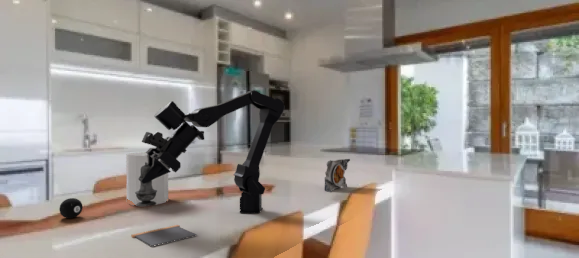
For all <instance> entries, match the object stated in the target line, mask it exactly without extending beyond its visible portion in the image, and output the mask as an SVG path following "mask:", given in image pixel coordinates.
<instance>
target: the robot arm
mask: <svg viewBox="0 0 579 258" xmlns="http://www.w3.org/2000/svg"><path fill="white" fill-rule="evenodd" d="M249 105H252V106H253V107H254V108H256V109H258V110H259V123H258V126H257V129H256V132H255V134H254V137H253V140H252V143H251V146H250V148H249V151H248V153H247V156H246V159H245V161H244V162H243V163H242V164H241V163H238V164H237V166H236V170H235V172H234V173H233V176H234V177H233V181H234V184H235V186H237V187H238V189H239V192H241V193H240V197H239V213H240V214H241V213H242V214H260V212H262V211H263V210H264V207H262V203H263V202H262V201H263V200H262V198H263V197H262V196H263V195H264V193H265V190H266V187H265V186H264V185H263V184H262V183H261V182H260V181H259V180H260V175H261V173H260V171H261V169H260V164H261V161H262V158H263V155H264V153H265V150H266V146H267V144H268V141H269V138H270V136H271V133H272V130H273V127H274V125H275V124H277V122H278V121H279V120H280V118H281V116H282V115H283V114H284V111H285V105H284V102H283V100H281V99H280V98H275V97H271V96H268V95H266V94H264V93H261V92H259V91H257V90H250V91H249V90H248V91H246V92H245V93H242V94H239V95H237V96H235V97H233V98H230V99H227V100H225V101H224V102H221V103H219V104H215V105H211V106H205V107H201V108H196V109H194V110H192V112H185V113H184V112H183V110H182V109H181V108H179V107H178V104H177V103H175V102H174V101H169V102H168V103H167V104H166V105H164V106H163V107H162V108H160V109H159V110H158V111H156V113H155V114H154V118H155V119H156V120H157V121H158V122H159V123H160V124H161V125H163V126H164V127H165V129H167V130H168V131H170V130H173V131H174V132H173V134H171V136H166V137H165V138H164V136H163V133H162V132H159V131H155V132H154V133H152V132H149V131H146V132H145V134H144V135H143V138H142V140H141V142H142V143H144V144H147V145H150V146H154V147H150V148H148V149H147V150H146V151H145V152H146V153H147V154H148V155H147V157H148V163H147V165H148V166H150V167H151V168H150V169H149V170H148V172H147V173H146V174H145V176H144V177H143V179H142V180H141V182H142V183H144V184H145V183H147V182H149V181H151V180H153V179H155V178H158V177H160V176H162V175H164V174H167V173H168V174H169V173H171V172H173V173H177V172H178V171H179V170H180V169H181V166H182V165H181V162H180V161H179V160H178V158H179V157H180V156H181V155H182V154H185V153H186V152H188V151H187V148H188V147H190V145H191V144H192V143H194V141H195V140H196V139H198V140H199V141H205V131H204V130H199V129H198V128H208V127H210V126H212V125H214V124H215V123H216V122H218V121H219V120H220V119H221V118H222V117H224V116H226V115H228V114H229V115H230V114H232V113H233V112H235V111H238V110H240V109H242V108H244V107H247V106H249ZM188 122H189V123H191V124H189V123H188ZM170 169H171V170H170ZM139 178H141V175H140V177H139ZM139 180H140V179H139Z"/></svg>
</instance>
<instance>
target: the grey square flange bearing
mask: <svg viewBox="0 0 579 258" xmlns="http://www.w3.org/2000/svg"><path fill="white" fill-rule="evenodd" d="M350 161H351V159H350V158H345V159H344V158H343V159H336V160H331V159H330V160H328V161H327V162H325V163H326V171H325V173H324V174H325V177H324V191H325V192H328V193H332V191H334V189H341V188H347V187H348V184H347V183H346V180H347V178H346V177H345V172H346V171H347V169H348V163H349V162H350Z"/></svg>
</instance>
